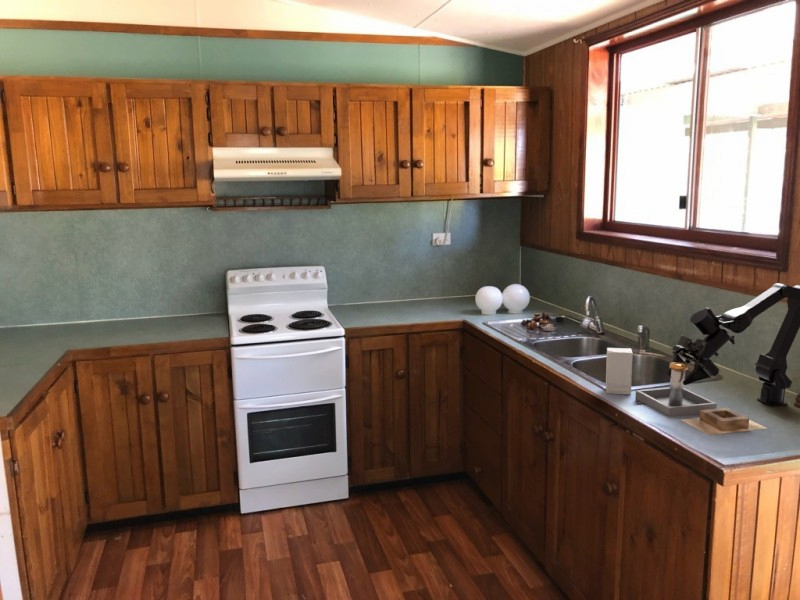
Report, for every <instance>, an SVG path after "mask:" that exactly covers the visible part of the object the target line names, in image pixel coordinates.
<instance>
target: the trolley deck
mask: <svg viewBox="0 0 800 600" xmlns="http://www.w3.org/2000/svg"><path fill="white" fill-rule="evenodd" d="M681 421H682V422H684V423H685V424H687V425H689V426H691V427H693V428H695V429H697V430H698V431H700V432H702V433H704V434H706V435H708V436H713V435H723V434H727V433H728V434H730V433H738V432H739V433H741V432H749V431H758V430H765V429H768V428H767V427H765V426H764V425H761V424H759V423H757V422H755V421H753V420H751V419H750V418H749V417H747V416H745V415H743V414H741V413H738V412H736V411H734V410H732V409H730V408H729V407H721V408H719V407H717V408H716V409H708V410H700V413H699V417H696V418H695V417H694V418H683V419H681Z"/></svg>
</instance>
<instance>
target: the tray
mask: <svg viewBox="0 0 800 600" xmlns="http://www.w3.org/2000/svg"><path fill="white" fill-rule="evenodd" d="M669 393H670V386H669V387H658V388H650V389H649V388H648V389H639V390H635V398H634V399H635V400H634V401H635V402H637V403H638V402H639V403H638V404H640V403H641V404H640V405H642V404H643V406H647V405H648V406H649V407H651V408H653V409H655V410H656V411H658V412H660V413H662V414H664V415H665V416H668V417H673V416H674V417H675V416H684V415H693V414H700V410H708V409H717V408H718V403H717V402H716V401H712V400H711V399H708V398H706V397H704V396H702V395H699V394H697V393H695V392H693V391H692V390H689V389H687V388H685V387H684V391H683V402H682V406H673V405H670V404H669Z"/></svg>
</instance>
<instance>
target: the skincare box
mask: <svg viewBox="0 0 800 600" xmlns="http://www.w3.org/2000/svg"><path fill="white" fill-rule="evenodd" d="M633 357H634V353H633V350H632V348H631V347H630V348H628V347H627V348H626V347H625V348H624V347H606V363H605V364H606V367H605V368H606V369H605V391H606V394H616V395H617V394H618V395H631V394H632V378H633V377H632V376H633V359H634V358H633Z"/></svg>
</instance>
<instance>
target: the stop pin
mask: <svg viewBox="0 0 800 600" xmlns="http://www.w3.org/2000/svg"><path fill="white" fill-rule="evenodd" d="M672 362H673V361H672ZM672 362H669V368H671V369H672V370H671V376H670V384H669V387H670V393H669V404H670V405H673V406H682V402H683V391H684V388H685V385H684V384H683V381H684V380H685V379H686V371H688V369H689V368H688V364H687V363H686V364H684V363H678V362H673V363H672Z"/></svg>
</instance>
